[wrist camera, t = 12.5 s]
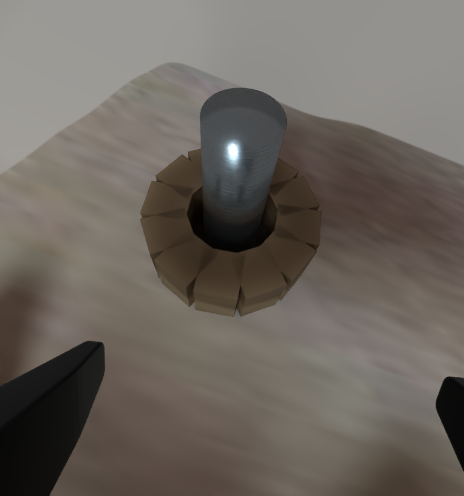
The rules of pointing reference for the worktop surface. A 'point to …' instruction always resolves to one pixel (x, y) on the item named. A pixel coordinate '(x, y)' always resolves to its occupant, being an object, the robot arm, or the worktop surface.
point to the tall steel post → (238, 164)
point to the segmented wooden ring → (224, 262)
